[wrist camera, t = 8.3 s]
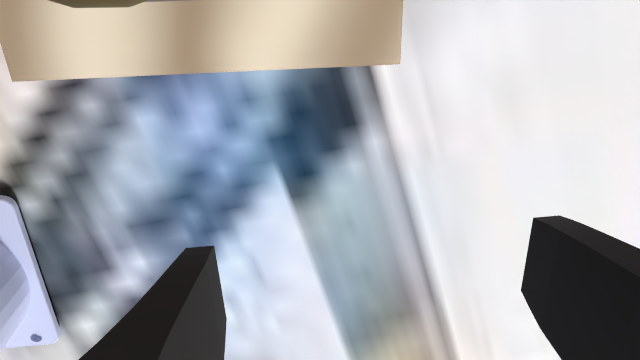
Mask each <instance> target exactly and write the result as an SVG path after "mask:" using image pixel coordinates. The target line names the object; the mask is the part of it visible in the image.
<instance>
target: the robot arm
mask: <svg viewBox="0 0 640 360" xmlns="http://www.w3.org/2000/svg"><path fill="white" fill-rule="evenodd" d="M521 291H522V293H523V296H524V298H525V300H526V302H527V304H528V306H529V308H530V310H531V312H532V314H533V316H534V317H535V319H536V321H537V323H538V325H539V327H540V329H541V330H542V332H543V333H544V335H545V336H546V338H547V339H548V341H549V342H550V343H551V345H552V346H553V348H554V349H555V351H556V352H557V354H558V355H559V356H560V358H561V359H562V360H640V249H639V248H637V247H634V246H632V245H630V244H627V243H625V242H623V241H621V240H618V239H616V238H614V237H612V236H609V235H607V234H605V233H603V232H600V231H598V230H596V229H593V228H591V227H589V226H586V225H584V224H581V223H579V222H576V221H574V220H571V219H568V218H565V217H562V216H549V217H538V218H533V223H532V229H531V235H530V240H529V246H528V252H527V258H526V264H525V270H524V276H523V282H522V287H521ZM35 334H38V335H40V336H37V335H35ZM60 334H61V332H60V328H59V325H58V322H57V320H56V317H55V314H54V311H53V308H52V305H51V302H50V299H49V296H48V293H47V290H46V287H45V284H44V281H43V278H42V276H41V273H40V270H39V267H38V264H37V261H36V258H35V255H34V252H33V249H32V246H31V243H30V240H29V237H28V234H27V231H26V229H25V226H24V223H23V220H22V217H21V214H20V211H19V208H18V205H17V203H16V202H15V201H14V200H13V199H12V198H10V197H8V196H3V195H0V352H1V351H2V349H3V348H9V347H21V346H33V345H45V344H53V343H55V342H56V341H57V340H58V338H59V336H60ZM225 336H226V313H225V308H224V302H223V296H222V290H221V284H220V278H219V272H218V266H217V260H216V254H215V249H214V246H206V247H194V248H186V249H185V250H184V251H183V252H182V253H181V254H180V255H179V256H178V258H177V259H176V260H175V261H174V262H173V263H172V264H171V265H170V267H169V268H168V269H167V270H166V271H165V272H164V274H163V275H162V276H161V277H160V278H159V279H158V280H157V282H156V283H155V284H154V285H153V286H152V287H151V288H150V290H149V291H148V292H147V293H146V294H145V295H144V296H143V297H142V298H141V299H140V300H139V302H138V303H137V304H136V305H135V306H134V307H133V308H132V309H131V310H130V311H129V312H128V313H127V314H126V315H125V316H124V317H123V318H122V319H121V320H120V321H119V322H118V323H117V324H116V325H115V326H114V327H113V328H112V329H111V330H110V331H109V332H108V333H107V334H106V335H105V336H104V337H103V338H102V339H101V340H100V341H99V342H98V343H97V344H96V345H95V346H93V347H92V348H91V349H90V350H89V351H88V352H87V353H86V354H84V355H83V356H82V357H81V358H80V359H79V360H224V352H225Z"/></svg>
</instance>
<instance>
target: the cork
mask: <svg viewBox="0 0 640 360" xmlns="http://www.w3.org/2000/svg"><path fill="white" fill-rule="evenodd" d="M49 1H52V2H55V3H59V4H62V5H65V6H69V7H72V8H119V7H132V6H134V5H137V4H140V3H143V2H145V1H148V0H49Z"/></svg>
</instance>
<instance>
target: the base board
mask: <svg viewBox="0 0 640 360" xmlns="http://www.w3.org/2000/svg"><path fill="white" fill-rule="evenodd" d="M402 14H403V0H148V1H145V2H143V3H140V4H137V5H134V6H132V7H119V8H72V7H69V6H65V5H62V4H59V3H55V2H52V1H49V0H0V43H1V46H2V49H3V53H4V56H5V59H6V62H7V66H8V69H9V72H10V75H11V79H12V82H14V81H36V80H59V79H81V78H103V77H125V76H147V75H170V74H192V73H214V72H236V71H258V70H281V69H303V68H325V67H347V66H369V65H392V64H400V57H401V36H402Z"/></svg>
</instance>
